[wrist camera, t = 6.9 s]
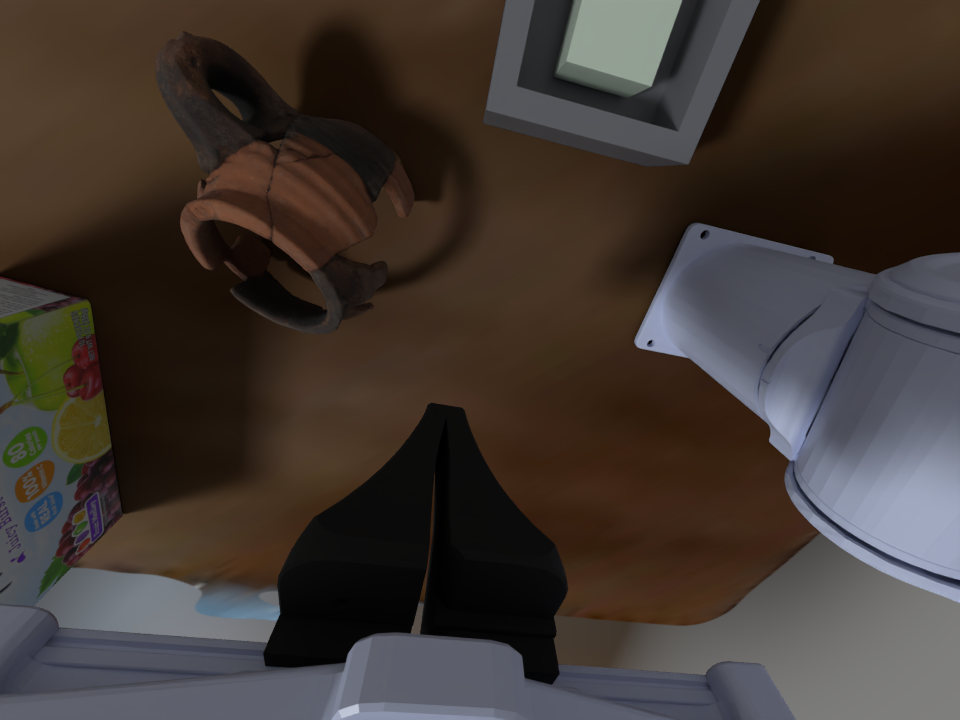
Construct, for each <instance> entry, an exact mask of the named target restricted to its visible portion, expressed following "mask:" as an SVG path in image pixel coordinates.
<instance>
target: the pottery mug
mask: <svg viewBox="0 0 960 720" xmlns="http://www.w3.org/2000/svg"><path fill="white" fill-rule="evenodd" d="M155 67H156V79H157V83H158V87H159V90H160V92H161V95H162V96H163V99H164V101H165V103H166V104H167V106H168V108H169V110H170V111H171V113H172V115H173V116H174V118H175V119H176V121H177V122H178V124H179V125H180V126H181V128H182V129H183V131H184V132H185V134H186V135H187V137H188V138H189V139H190V141H191V143H192V144H193V146H194V149H195V151H196V154H197V158H198V163H199V166H200V168H201V169H202V170H203V171H204V172H205V173H208V174H210V175H209V177H208V178H207V179H206V181H205V180H202V179H201V180H200V181H199V184H198V191H197V199H196V200H193V201H190V202H188V203H187V204H186V206H185V207H184V209H183V210H182V212H181V220H180V226H181V231H182V234H183V235H184V237H185V241H186V242H187V244H188V246H189V248H190V250H191V251H192V253H193V254H194V256H195V257H196V259H197V260H198V261H199V263H200V264H201V265H202V266H203V267H204V268H206V269H209V270H214V269H216V268H217V267H218V266H219V265H220V264H221V263H222V262H224V263H225V264H226V265H227V266H228V267H229V268H230V269H231V270H232V271H233V272H234V273H235V274H237V275H238V276H239V277H240V278H241V279H243V280H244V281H243V282H241V283H239V284H238V285H236V286H234V287H232V288H231V289H230V292H231V293H232V294H233V295H234V297H235V298H236V299H237V300H239V301H240V302H242V303H243V304H245V305H246V306H247V307H249V308H250V309H252V310H253V311H255V312H257V313H258V314H260V315H261V316H263V317H265V318H267V319H269V320H271V321H273V322H275V323H277V324H280V325H282V326H285V327H288V328H291V329H292V328H293V329H295V330H297V331H300V332H304V333H313V334H328V333H331V332H332V331H334V330H337V328H338V326H339V325H340V323H341V321H342V320H346V319H349V318H352V317H356V316H359V315H362V314H364V313H365V312H367V311H369V310H371V309H373V308H374V305H373V304H372V303H366V304H363V303H365V302H366V301H367V300H369V299H370V298H371V297H372V296H373V295H374V293H375V291H376V290H377V288H379V287H381V286H382V285H383V284H384V283H385V282H386V279H387V264H386V262H384V261H379V262H376V263H374V264H372V265H370V266H369V265H367V264H362V263H358V262H354V261H350V260H348V259H346V258H343V257H341V256H339V255H337V254H338V253H339V252H341V251H344V250H347V249H348V248H350V247H351V246H353V245H355V244H357V243H359V242H361V241H363V240H365V239H368V238H370V237H371V236H373V234H374V230H375V228H376V226H377V215H376V212H375V209H374V207H373V205H372V202H374V201H376V199H377V197H378V195H379V193H380V190H381V188H382V186H384V188H385V190H386V191H387V193H388V194H389V196H390V198H391V200H392V202H393V204H394V207H395V209H396V211H397V214H398V216H399V217H401V218H405V217H407V216H408V215H409V214H410V212H411V207H412V205H413V202H414V200H415V194H414V191H413V187H412V184H411V182H410V180H409V178H408V176H407V174H406V172H405V170H404V169H403V167H402V166H401V164H400V163H399V161H398V160H397V159H396V157H395V155H394V154H393V153H392V152H391V150H390V149H389V148H388V147H387V146H386V145H385V144H384V143H383V142H382V141H381V140H380V139H379V138H378V137H376V136H375V135H373V134H372V133H370V132H369V131H368V130H366V129H365V128H363V127H361V126H359V125H357V124H355V123H353V122H350V121H344V120H340V119H328V118H321V117H314V116H307V115H302V114H301V115H300V114H299V113H298V112H297V111H296V110H295V109H294V108H292V107H291V106H289V105H288V104H287V103H286V102H285V101H283V100H282V98H281V97H280V96H279V95H277V93H276V92H275V91H274V90H273V89H272V88H271V87H270V85H269V84H268V83H267V82H266V80H265V79H264V78H263V77H262V76H261V75H260V74H259V73H258V72H257V70H256V69H255V68H254V67H253V66H251V65H250V64H249V63H248V62H247V61H246V60H245V59H244V58H243V57H242V56H240V55H239V54H238V53H236V52H235V51H234V50H232V49H231V48H229V47H228V46H226V45H225V44H223V43H221V42H219V41H216V40H213V39H210V38H206V37H200V36H193V35H192V34H189V33H187V32H184V31H183V32H181V33H180V34H179V36H178V37H177V39H176V40H174V39H172V40H169V41H168V42H167V43H166V44H165V46H164V48H163V49H162V50H160V51H159V52H158V55H157V57H156V64H155ZM211 89H214V90H215V91H217V92H219V93H220V94H222V95H223V96H225V97H226V98H228V99H229V100H230V101H232V102H233V103H234V104H235V106H236V107H237V108H238V109H239V111H240V113H241V115H242V117H243V121H242V120H240V119H239V118H237V117H236V116H235V115H233V114H232V113H231V112H230V111H229V110H228V109H227V108H226V107H225V106H224V105H223V104H222V103H221V102H220V101H219V99H218V98H217V97H216V96H215V94H214V93H213V91H212V90H211ZM281 139H283V141H282V143H281V144H280V148H279V149H276V148H274V147H273V146H272V145H270V144H269V143H270V142H272V141H276V140H281ZM213 220H222V221H226V222H230V223H234V224H236V225H239V226H242V227H244V228H246V229H249V230H251V231H253V232H255V233H257V234H258V235H260V236H262V237H264V238H266V239H269V240H271V241H272V242H273V243H274V244H275V245H276V246H277V247H279V248H280V249H282V250H283V251H284V252H286V253H287V254H288V255H289V256H290V257H291V258H293V259H294V260H295V261H296V262H297V263H298V264H299V265H300V266H301V267H302V268H303V269H304V270H305V271H307V272H308V273H309V274H310V275H311V277H312V279H313V280H314V282H315V283H316V285H317V286H318V288H319V289H320V291H321V292H322V294H323V296H324V298H325V302H326V306H327V310H323V308H322V307H320V306H317V305H315V304H312V303H309V302H306V301H304V300H301V299H300V298H298V297H295V296H293V295H292V294H291V293H290V292H288V291H287V290H286V289H285V288H284V287H283V286H282V285H281V284H280V283H279V282H278V281H277V280H276V279H275V278H274V277H273V276H272V275H271V274H270V273H269V272H268V271H267V266H268V264H269V259H270V255H271V251H270V249H269V248H268V247H267V246H266V245H265V244H263V243H262V242H261V241H260V240H259V239H257V238H256V237H254V236H253V235H251V234H249V233H243V234H240V235H239V236H237V238H236V242H235V243H234V244H233V245H232V246H231V247H229V246H228V245H227V244H226V242H225V241H224V239H223V238H222V236H221V235H220V233H219V231H218V229H217V228H216V226H215V223H214V221H213ZM361 304H363V305H361Z"/></svg>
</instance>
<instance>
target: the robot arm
mask: <svg viewBox="0 0 960 720" xmlns="http://www.w3.org/2000/svg"><path fill="white" fill-rule="evenodd" d="M704 230H705V231H706V233H705V236H704V237H703V238H701V237H700V235H701V233H702V232H703V231H704ZM809 257H810V258H809ZM833 261H834V259H833V257H832V256H830V255H826V254H822V253H818V252H814V251H810V250H806V249H802V248H798V247H794V246H789V245H785V244H781V243H777V242H773V241H769V240H765V239H761V238H757V237H753V236H749V235H745V234H741V233H737V232H733V231H729V230H725V229H721V228H717V227H713V226H709V225H705V224H701V223H693V224H691V225H690V226H688V228H687V229H686V231H685V233H684V235H683V237H682V239H681V241H680V244H679V246H678V248H677V250H676V252H675V254H674V256H673V259H672V261H671V263H670V265H669V267H668V269H667V271H666V273H665V276H664V278H663V280H662V282H661V284H660V286H659V288H658V291H657V293H656V295H655V297H654V299H653V301H652V303H651V305H650V308H649V310H648V312H647V314H646V316H645V318H644V320H643V323H642V325H641V327H640V329H639V331H638V333H637V335H636V338H635V341H634V342H635V344H636V346H637V347H638V348H641V349H646V350H651V351H656V352H661V353H666V354H671V355H677V356H682V357H687V358H690V359H691V360H692V361H694V362H695V363H696V364H697V365H698V366H700V367H701V368H702V369H703V370H704V371H705V372H707V373H708V374H709V375H710V376H711V377H713V378H714V379H715V380H716V381H717V382H719V383H720V384H721V385H722V386H723V387H725V388H726V389H727V390H728V391H729V392H731V393H732V394H733V395H734V396H735V397H737V398H738V399H739V400H740V401H741V402H743V403H744V404H745V405H746V406H747V407H749V408H750V409H751V410H752V411H753V412H755V413H756V414H757V415H758V416H759V417H761V418H762V419H763V420H764V421H765V422H767V423H768V425H769V426H770V430H771V436H770V439H769V442H770V443H771V444H772V445H773V446H774V447H776V448H777V449H778V450H779V451H780V452H781V453H782V454H783V455H785V456H786V457H787V458H788V459H789V460H790V463H789V465H788V467H787V469H786V471H785V485H786V489H787V492H788V494H789V496H790V498H791V500H792V501H793V503H794V504H795V506H796V507H797V509H798V510H799V511H800V512H801V513H802V514H803V516H804V517H805V518H806V519H807V520H808V521H809V522H810V523H811V524H812V525H813V526H814V527H815V528H817V529H818V530H819V531H820V532H821V533H822V534H823V535H825V536H826V537H827V538H829V539H830V540H831V541H833V542H834V543H835V544H837V545H838V546H839V547H841V548H842V549H844V550H845V551H847V552H849V553H850V554H852V555H853V556H855V557H856V558H858V559H860V560H861V561H863V562H865V563H867V564H868V565H871V566H872V567H874V568H876V569H878V570H880V571H882V572H884V573H886V574H888V575H890V576H892V577H895V578H897V579H899V580H901V581H904V582H906V583H909V584H911V585H914V586H917V587H919V588H922V589H925V590H927V591H930V592H933V593H936V594H938V595H941V596H944V597H946V598H949V599H951V600H954V601H956V602H958V603H960V253H945V254H935V255H928V256H923V257H919V258H915V259H913V260H910V261H908V262H906V263H904V264H901V265H899V266H896V267H892V268H889V269H886V270H884V271H882V272H880V273H878V274H877V275H875V274H871V273H867V272H863V271H859V270H855V269H851V268H847V267H843V266H839V265H835V264H833ZM650 340H652V342H651V344H647V343H648V341H650ZM434 474H435V491H434V524H433V537H432V545H431V553H430V561H429V569H428V577H427V585H426V593H425V600H424V608H423V616H422V623H421V631H420V634H410V633H411V629H412V626H413V623H414V619H415V615H416V611H417V607H418V603H419V599H420V594H421V590H422V586H423V582H424V578H425V574H426V569H427V562H428V553H429V543H430V524H431V509H432V496H433V485H434ZM277 586H278V595H279V605H280V616H279V618H278V620H277V623H276V625H275V627H274V630H273V632H272V634H271V636H270V638H269V641H268V643H262V642H249V641H235V640H222V639H208V638H194V637H181V636H168V635H153V634H140V633H125V632H113V631H98V630H86V629H72V628H59V625H58V622H57V619H56V618H55V616H54V615H53V614H52V613H51V612H50V611H48V610H45V609H43V608H40V607H35V606H27V605H15V604H2V603H0V720H796V719H795V717H794V716H793V714H792V712H791V711H790V709H789V707H788V706H787V704H786V702H785V701H784V699H783V698H782V696H781V694H780V692H779V691H778V689H777V688H776V686H775V684H774V682H773V681H772V679H771V677H770V676H769V674H768V672H767V671H766V669H765V667H764V666H763V665H761V664H757V663H744V662H731V661H729V662H720V663H717V664H715V665H713V666H712V667H711V668H710V669H709V670H708V671H707V673H706V675H698V674H684V673H670V672H657V671H644V670H630V669H617V668H602V667H589V666H576V665H562V664H558V661H557V655H556V650H555V644H554V639H553V638H555V636H556V626H555V621H554V616H555V614H556V612H557V611H558V609H559V607H560V606H561V604H562V602H563V601H564V599H565V597H566V594H567V591H568V585H567V579H566V575H565V571H564V567H563V565H562V562H561V559H560V556H559V553H558V551H557V548H556V545H555V544H554V543H553V542H552V541H551V540H550V539H549V538H548V537H546V536H545V535H544V534H543V533H542V532H541V531H540V530H539V529H538V528H537V527H535V526H534V525H533V524H532V523H531V522H530V521H529V519H528V518H527V517H526V516H525V515H524V514H523V513H522V512H521V511H520V510H519V509H518V507H517V506H516V505H515V504H514V503H513V501H512V500H511V499H510V498H509V497H508V495H507V494H506V493H505V491H504V490H503V488H502V487H501V486H500V484H499V483H498V481H497V480H496V478H495V477H494V475H493V474H492V472H491V470H490V469H489V467H488V465H487V464H486V462H485V460H484V458H483V456H482V454H481V452H480V450H479V448H478V446H477V444H476V441H475V439H474V437H473V434H472V432H471V429H470V427H469V424H468V421H467V418H466V414H465V411H464V409H463V408H460V407H454V406H448V405H441V404H435V403H430V404H428V406H427V409H426V411H425V413H424V415H423V417H422V419H421V420H420V422H419V424H418V425H417V427H416V428H415V430H414V431H413V432H412V434H411V435H410V437H409V438H408V439H407V440H406V442H405V443H404V444H403V445H402V447H401V448H400V449H399V450H398V451H397V452H396V454H395V455H394V456H393V457H392V458H391V459H390V460H389V461H388V462H387V463H386V464H385V465H384V466H383V467H382V468H381V469H380V470H379V471H377V472H376V473H375V474H374V475H373V476H372V477H371V478H370V479H368V480H367V481H366V482H365V483H364V484H362V485H361V486H360V487H358V488H357V489H356V490H354V491H353V492H352V493H350V494H349V495H348V496H346V497H345V498H344V499H342V500H341V501H339V502H338V503H336V504H334V505H333V506H331V507H330V508H328V509H326V510H325V511H323V512H322V513H320V514H318V515H317V516H315V517H314V518H313V519H312V521H311V522H310V523H309V525H308V526H307V527H306V529H305V530H304V531H303V533H302V534H301V536H300V537H299V539H298V540H297V542H296V543H295V545H294V547H293V548H292V550H291V552H290V553H289V555H288V558H287V560H286V562H285V564H284V566H283V568H282V570H281V572H280V574H279V577H278V584H277Z"/></svg>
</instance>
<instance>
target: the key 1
mask: <svg viewBox="0 0 960 720" xmlns="http://www.w3.org/2000/svg"><path fill="white" fill-rule="evenodd" d="M681 3H682V0H572V4H571V8H570V12H569V16H568V20H567V24H566V28H565V32H564V36H563V40H562V44H561V48H560V52H559V56H558V60H557V64H556V68H555V72H554V76H553V77H555V78H559V79H562V80H566V81H569V82H573V83H576V84H579V85H583V86H586V87H590V88H593V89H597V90H600V91H604V92H607V93H611V94H614V95H618V96H621V97H624V98H629V97H631V96H633V95H635V94H637V93H639V92H641V91H643V90H645V89H647V88H649V87H651V86H652V84H653V81H654V78H655V75H656V72H657V70H658V67H659V64H660V61H661V58H662V56H663V53H664V50H665V47H666V44H667V42H668V39H669V36H670V33H671V30H672V28H673V25H674V22H675V19H676V17H677V14H678V11H679V8H680V5H681Z"/></svg>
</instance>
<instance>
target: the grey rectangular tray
mask: <svg viewBox="0 0 960 720" xmlns="http://www.w3.org/2000/svg"><path fill="white" fill-rule="evenodd" d="M759 1H760V0H682V3H681V5H680V8H679V11H678V14H677V17H676V19H675V22H674V25H673V28H672V30H671V33H670V36H669V39H668V42H667V44H666V47H665V50H664V53H663V56H662V58H661V61H660V64H659V67H658V70H657V72H656V75H655V78H654V81H653V84H652V86H651V87H649V88H647V89H645V90H643V91H641V92H639V93H637V94H635V95H633V96H631V97H629V98H624V97H621V96H618V95H614V94H611V93H607V92H604V91H600V90H597V89H593V88H590V87H586V86H583V85H579V84H576V83H573V82H569V81H566V80H562V79H559V78H555V77H553V76H554V72H555V68H556V64H557V60H558V56H559V52H560V48H561V44H562V40H563V36H564V32H565V28H566V24H567V20H568V16H569V12H570V8H571V4H572V0H506V1H505V6H504V12H503V17H502V23H501V28H500V33H499V39H498V44H497V50H496V55H495V61H494V66H493V72H492V77H491V83H490V88H489V94H488V99H487V104H486V110H485V115H484V121H483V123H484V124H488V125H491V126H495V127H499V128H503V129H507V130H510V131H514V132H518V133H522V134H525V135H529V136H533V137H537V138H541V139H544V140H548V141H552V142H556V143H559V144H563V145H567V146H571V147H575V148H578V149H582V150H586V151H590V152H593V153H597V154H601V155H605V156H609V157H612V158H616V159H620V160H624V161H627V162H631V163H635V164H639V165H642V166H646V167H650V166H670V165H688V164H689V162H690V160H691V157H692V155H693V153H694V151H695V148H696V146H697V144H698V141H699V139H700V137H701V134H702V132H703V130H704V128H705V125H706V123H707V121H708V118H709V116H710V114H711V111H712V109H713V107H714V105H715V102H716V100H717V98H718V95H719V93H720V91H721V88H722V86H723V84H724V82H725V79H726V77H727V75H728V72H729V70H730V68H731V66H732V63H733V61H734V59H735V56H736V54H737V52H738V49H739V47H740V45H741V43H742V40H743V38H744V36H745V33H746V31H747V29H748V26H749V24H750V22H751V20H752V17H753V15H754V13H755V10H756V8H757V6H758V3H759Z"/></svg>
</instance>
